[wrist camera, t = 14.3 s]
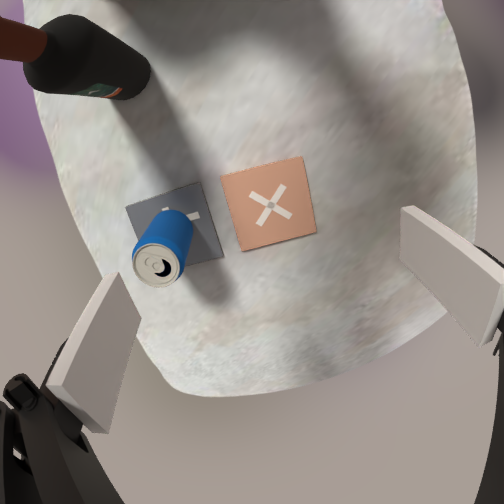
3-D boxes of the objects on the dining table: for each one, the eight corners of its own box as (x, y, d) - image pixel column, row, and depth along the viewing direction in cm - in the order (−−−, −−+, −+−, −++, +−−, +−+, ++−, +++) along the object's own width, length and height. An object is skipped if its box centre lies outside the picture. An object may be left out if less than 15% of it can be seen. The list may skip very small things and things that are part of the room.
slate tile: (126, 206, 41) (125, 207, 41) (200, 182, 41) (199, 183, 40) (154, 272, 46) (153, 275, 46) (223, 254, 46) (223, 256, 45)
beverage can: (181, 255, 45) (169, 299, 34) (145, 235, 43) (121, 274, 32) (201, 221, 43) (193, 257, 32) (163, 200, 41) (141, 230, 30)
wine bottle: (160, 75, 34) (35, 8, 7) (120, 110, 35) (-42, 121, 8) (132, 42, 31) (1, -38, 4) (93, 77, 32) (-67, 57, 5)
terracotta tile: (220, 176, 41) (219, 177, 40) (301, 156, 40) (302, 156, 40) (241, 249, 46) (241, 251, 45) (315, 230, 46) (316, 232, 45)
